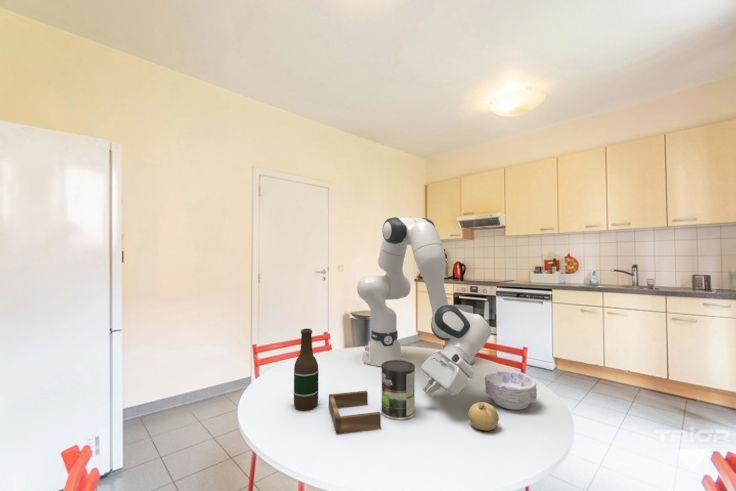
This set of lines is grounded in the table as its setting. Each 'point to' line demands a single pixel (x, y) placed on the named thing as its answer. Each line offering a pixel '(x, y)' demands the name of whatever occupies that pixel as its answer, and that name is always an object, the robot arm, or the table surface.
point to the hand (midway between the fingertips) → (425, 392)
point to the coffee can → (398, 389)
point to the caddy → (352, 421)
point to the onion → (483, 416)
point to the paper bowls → (510, 389)
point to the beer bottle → (306, 375)
